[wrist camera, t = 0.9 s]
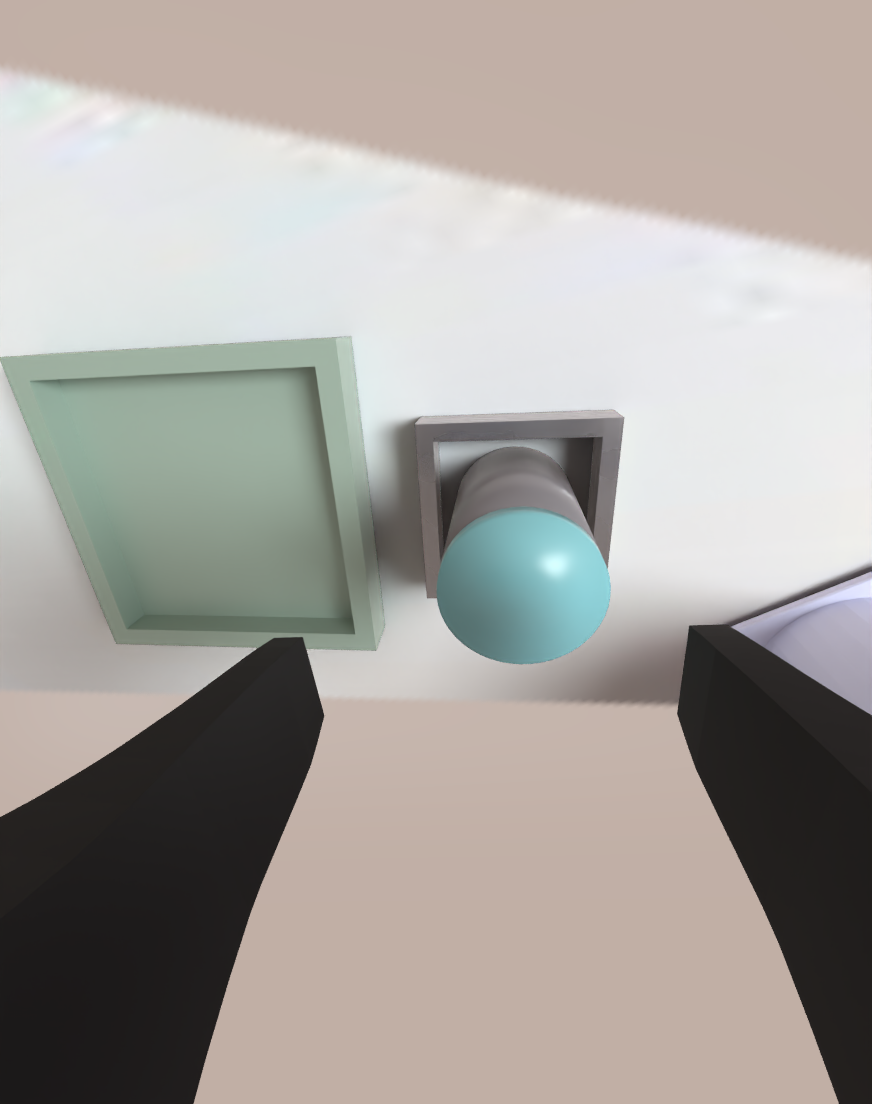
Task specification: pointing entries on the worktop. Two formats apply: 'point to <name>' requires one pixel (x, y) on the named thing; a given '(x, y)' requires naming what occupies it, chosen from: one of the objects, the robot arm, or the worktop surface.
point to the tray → (213, 489)
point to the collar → (517, 426)
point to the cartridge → (520, 561)
